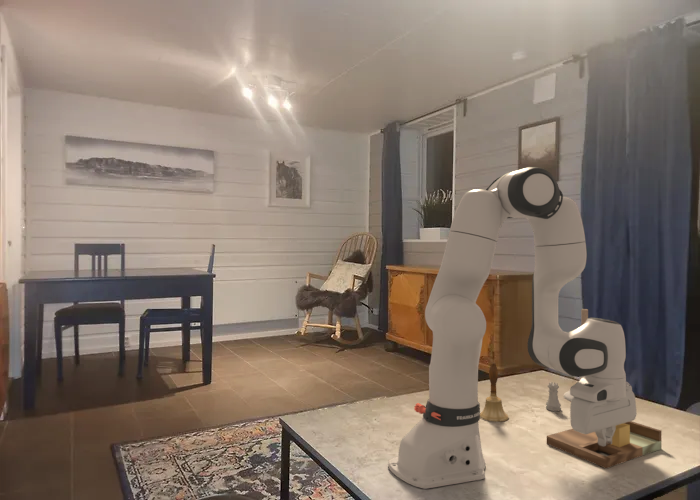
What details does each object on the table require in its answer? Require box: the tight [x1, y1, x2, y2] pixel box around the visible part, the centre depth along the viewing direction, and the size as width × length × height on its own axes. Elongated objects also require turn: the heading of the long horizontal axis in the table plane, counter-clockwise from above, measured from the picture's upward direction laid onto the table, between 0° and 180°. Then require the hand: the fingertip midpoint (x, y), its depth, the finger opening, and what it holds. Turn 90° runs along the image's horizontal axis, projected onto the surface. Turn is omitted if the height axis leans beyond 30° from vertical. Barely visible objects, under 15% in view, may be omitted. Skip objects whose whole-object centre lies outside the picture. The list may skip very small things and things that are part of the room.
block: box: [611, 423, 630, 447], centre depth 119 cm, size 4×4×4 cm
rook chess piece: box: [545, 381, 562, 412], centre depth 150 cm, size 4×4×8 cm
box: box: [546, 421, 663, 469], centre depth 121 cm, size 22×16×4 cm
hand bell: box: [480, 362, 510, 423], centre depth 143 cm, size 8×8×16 cm
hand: (605, 444), depth 115 cm, fingers closed
